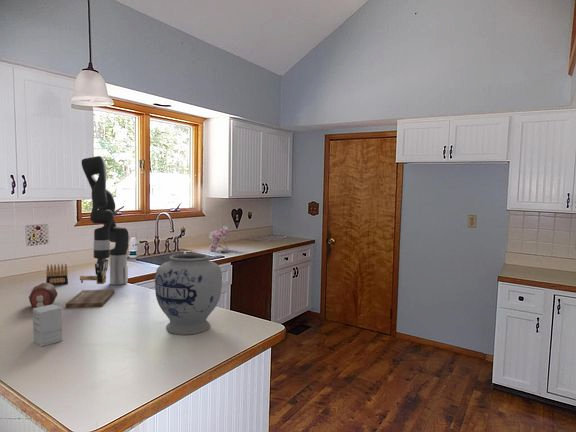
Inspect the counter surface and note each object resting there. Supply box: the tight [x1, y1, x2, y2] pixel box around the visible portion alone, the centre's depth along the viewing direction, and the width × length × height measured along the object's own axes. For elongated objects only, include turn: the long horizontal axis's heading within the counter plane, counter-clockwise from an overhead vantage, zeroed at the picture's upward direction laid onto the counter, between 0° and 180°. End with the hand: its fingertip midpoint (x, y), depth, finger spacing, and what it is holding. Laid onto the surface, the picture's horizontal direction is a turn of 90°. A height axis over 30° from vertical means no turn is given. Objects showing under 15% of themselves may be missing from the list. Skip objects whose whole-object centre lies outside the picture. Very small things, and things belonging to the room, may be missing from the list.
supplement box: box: [32, 303, 63, 347], centre depth 144 cm, size 7×7×13 cm
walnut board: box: [64, 289, 116, 309], centre depth 196 cm, size 16×24×2 cm, turn 11°
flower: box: [208, 225, 231, 253], centre depth 348 cm, size 20×22×25 cm
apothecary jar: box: [154, 253, 223, 336], centre depth 162 cm, size 27×27×30 cm
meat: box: [28, 282, 58, 309], centre depth 184 cm, size 20×12×10 cm, turn 24°
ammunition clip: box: [45, 263, 69, 286], centre depth 224 cm, size 11×2×12 cm, turn 115°
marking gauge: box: [79, 270, 107, 285], centre depth 201 cm, size 12×5×6 cm, turn 99°
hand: (101, 281), depth 202 cm, fingers closed on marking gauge, 5 cm apart
